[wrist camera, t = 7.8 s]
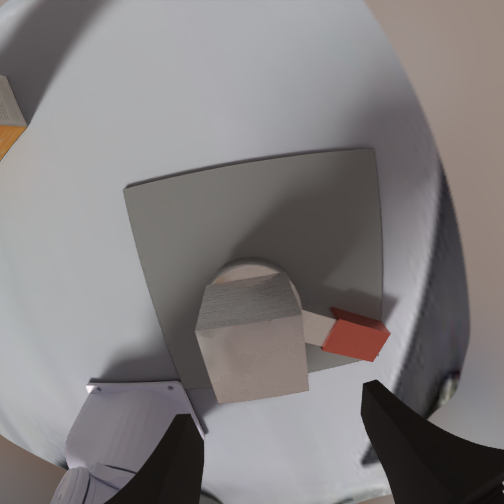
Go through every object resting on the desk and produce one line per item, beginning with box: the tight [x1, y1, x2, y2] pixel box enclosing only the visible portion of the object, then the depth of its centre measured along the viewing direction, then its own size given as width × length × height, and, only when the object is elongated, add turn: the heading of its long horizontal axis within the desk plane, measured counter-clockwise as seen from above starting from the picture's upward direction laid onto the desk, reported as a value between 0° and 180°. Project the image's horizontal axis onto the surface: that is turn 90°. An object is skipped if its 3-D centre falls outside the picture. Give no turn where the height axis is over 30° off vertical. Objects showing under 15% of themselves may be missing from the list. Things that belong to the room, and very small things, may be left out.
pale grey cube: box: [195, 272, 309, 404], centre depth 15 cm, size 5×5×5 cm
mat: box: [123, 148, 382, 390], centre depth 20 cm, size 16×16×1 cm
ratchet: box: [209, 257, 391, 362], centre depth 18 cm, size 13×6×5 cm, turn 69°
